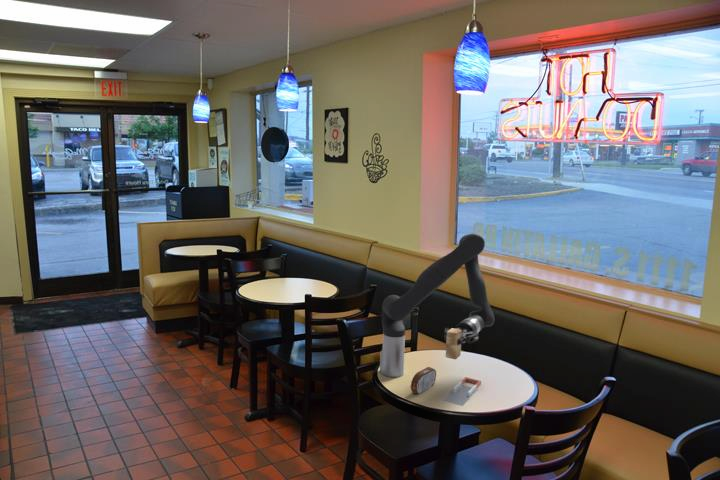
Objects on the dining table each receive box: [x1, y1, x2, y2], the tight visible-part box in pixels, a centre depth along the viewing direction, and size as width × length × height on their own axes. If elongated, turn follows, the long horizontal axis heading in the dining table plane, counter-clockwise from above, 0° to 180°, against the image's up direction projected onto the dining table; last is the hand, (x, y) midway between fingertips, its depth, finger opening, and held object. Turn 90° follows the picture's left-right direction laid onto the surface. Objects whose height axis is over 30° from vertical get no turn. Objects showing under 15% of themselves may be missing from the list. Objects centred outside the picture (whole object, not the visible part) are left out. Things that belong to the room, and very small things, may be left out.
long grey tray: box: [442, 376, 482, 407], centre depth 213 cm, size 8×23×2 cm, turn 149°
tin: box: [410, 366, 437, 395], centre depth 214 cm, size 15×3×8 cm, turn 141°
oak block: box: [445, 327, 462, 360], centre depth 204 cm, size 4×5×10 cm
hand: (452, 341), depth 202 cm, fingers closed on oak block, 4 cm apart
